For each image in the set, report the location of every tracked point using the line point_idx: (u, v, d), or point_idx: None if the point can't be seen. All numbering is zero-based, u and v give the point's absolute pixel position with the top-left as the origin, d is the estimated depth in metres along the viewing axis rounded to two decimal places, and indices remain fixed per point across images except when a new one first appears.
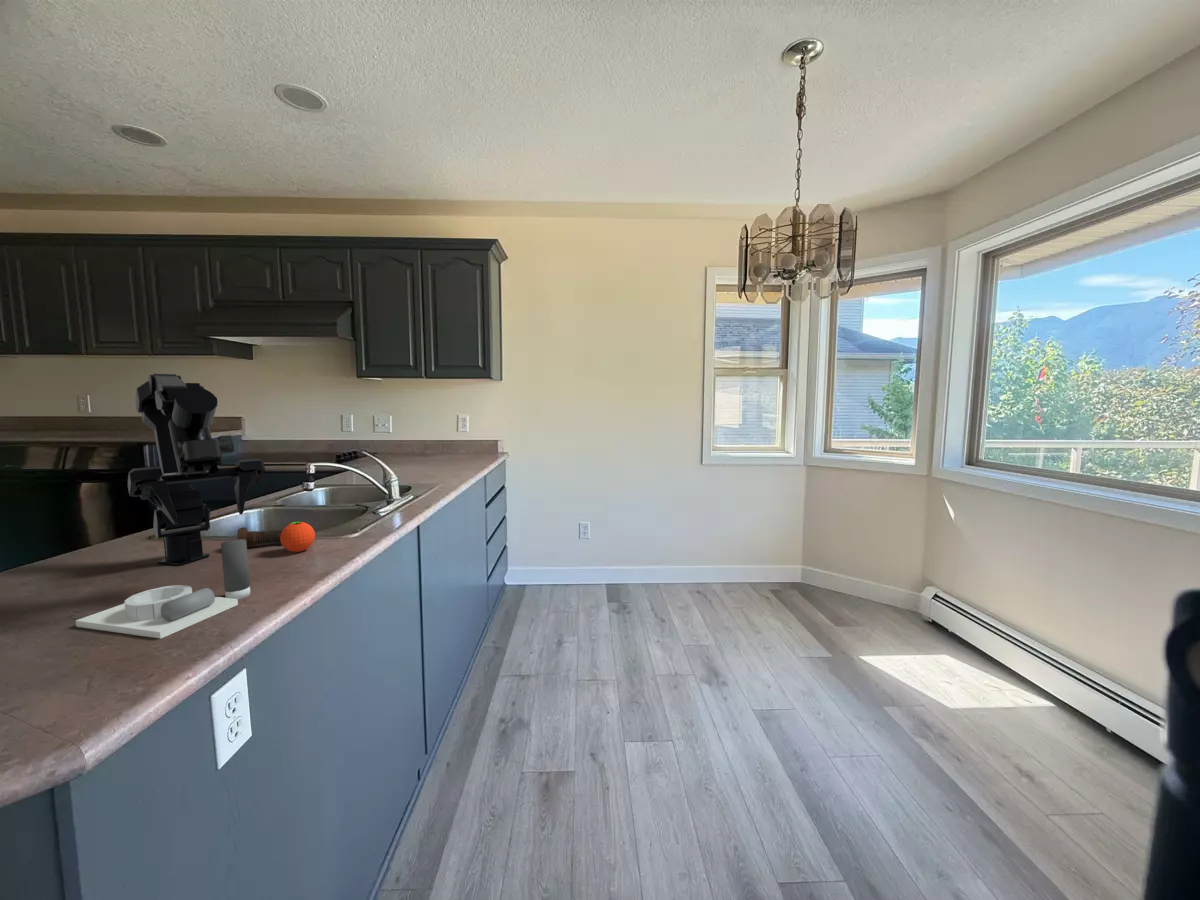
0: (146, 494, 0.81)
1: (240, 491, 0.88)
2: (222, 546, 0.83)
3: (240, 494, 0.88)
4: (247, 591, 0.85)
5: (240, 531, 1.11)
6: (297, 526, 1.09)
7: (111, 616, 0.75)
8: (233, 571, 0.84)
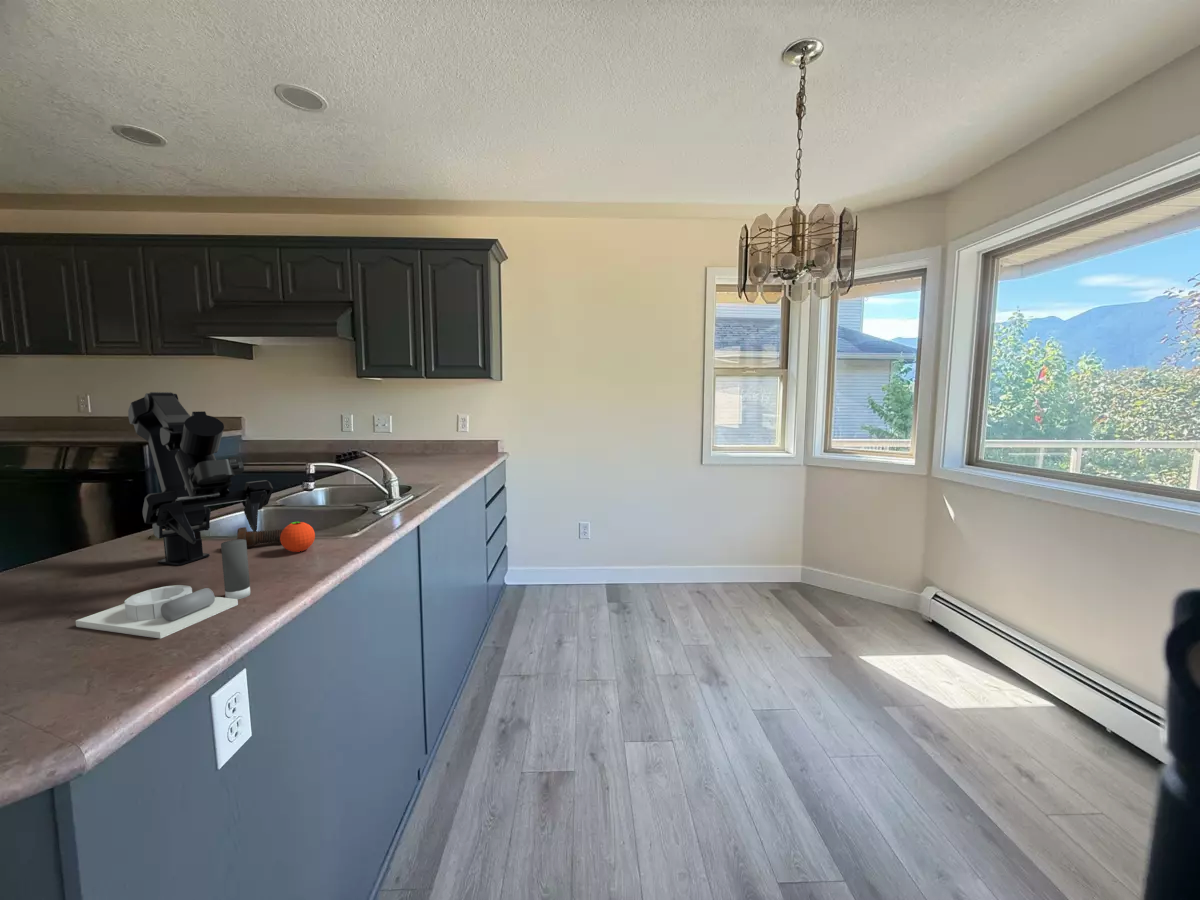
0: (162, 519, 0.83)
1: (252, 510, 0.91)
2: (222, 546, 0.83)
3: (252, 512, 0.91)
4: (247, 591, 0.85)
5: (240, 531, 1.11)
6: (297, 526, 1.09)
7: (111, 616, 0.75)
8: (233, 571, 0.84)
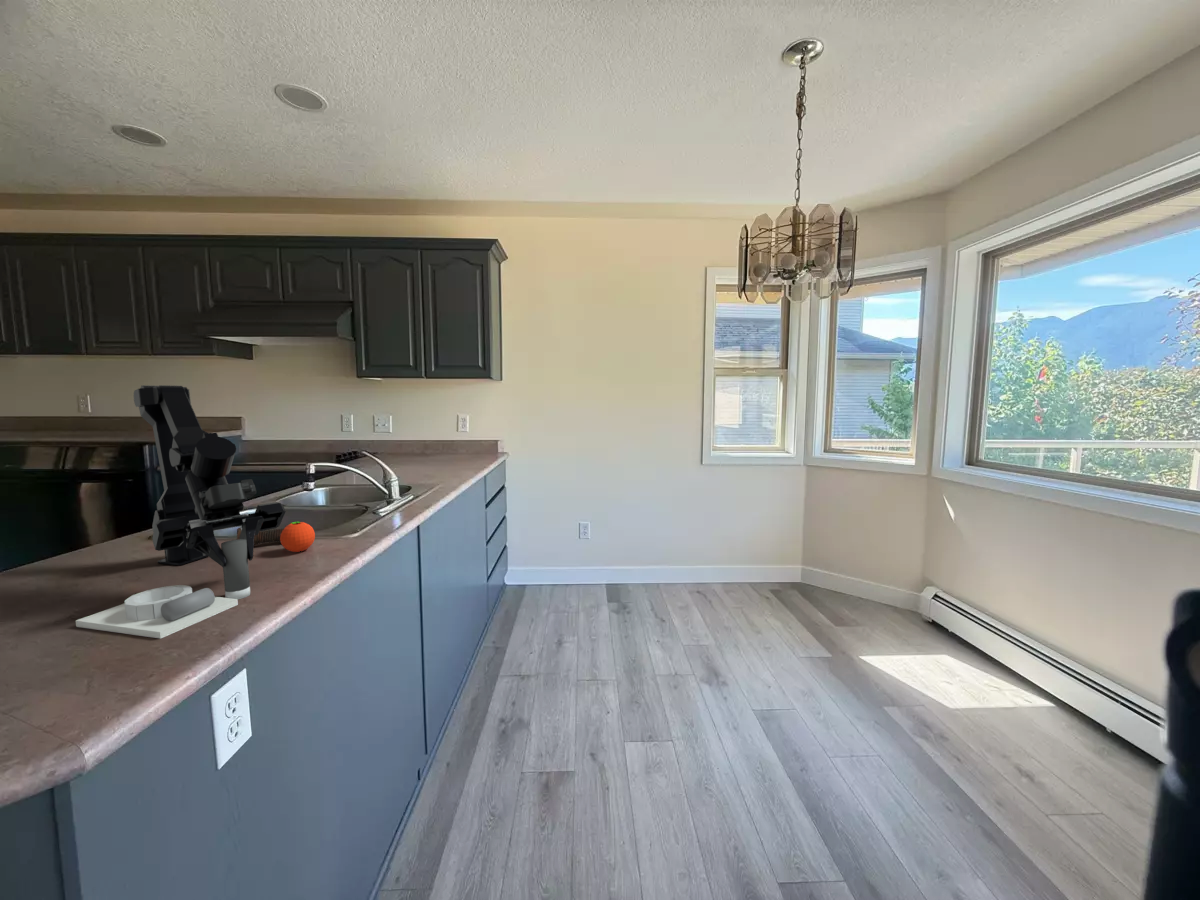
0: (192, 542, 0.83)
1: (247, 537, 0.87)
2: (222, 546, 0.83)
3: (248, 540, 0.87)
4: (247, 591, 0.85)
5: (239, 531, 1.11)
6: (297, 526, 1.09)
7: (111, 616, 0.75)
8: (233, 571, 0.84)
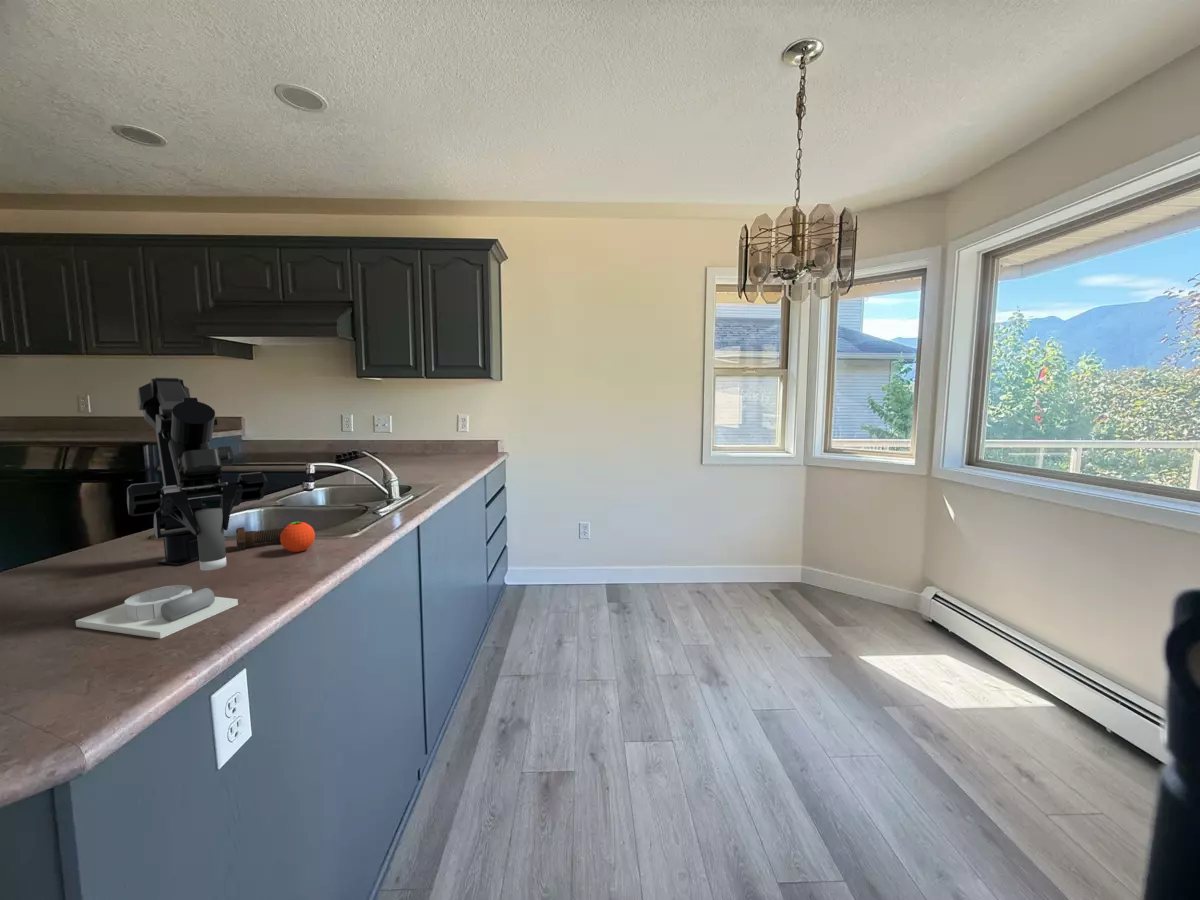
0: (167, 508, 0.80)
1: (224, 506, 0.83)
2: (196, 514, 0.80)
3: (224, 509, 0.83)
4: (221, 562, 0.82)
5: (239, 531, 1.11)
6: (297, 526, 1.09)
7: (111, 616, 0.75)
8: (206, 540, 0.80)
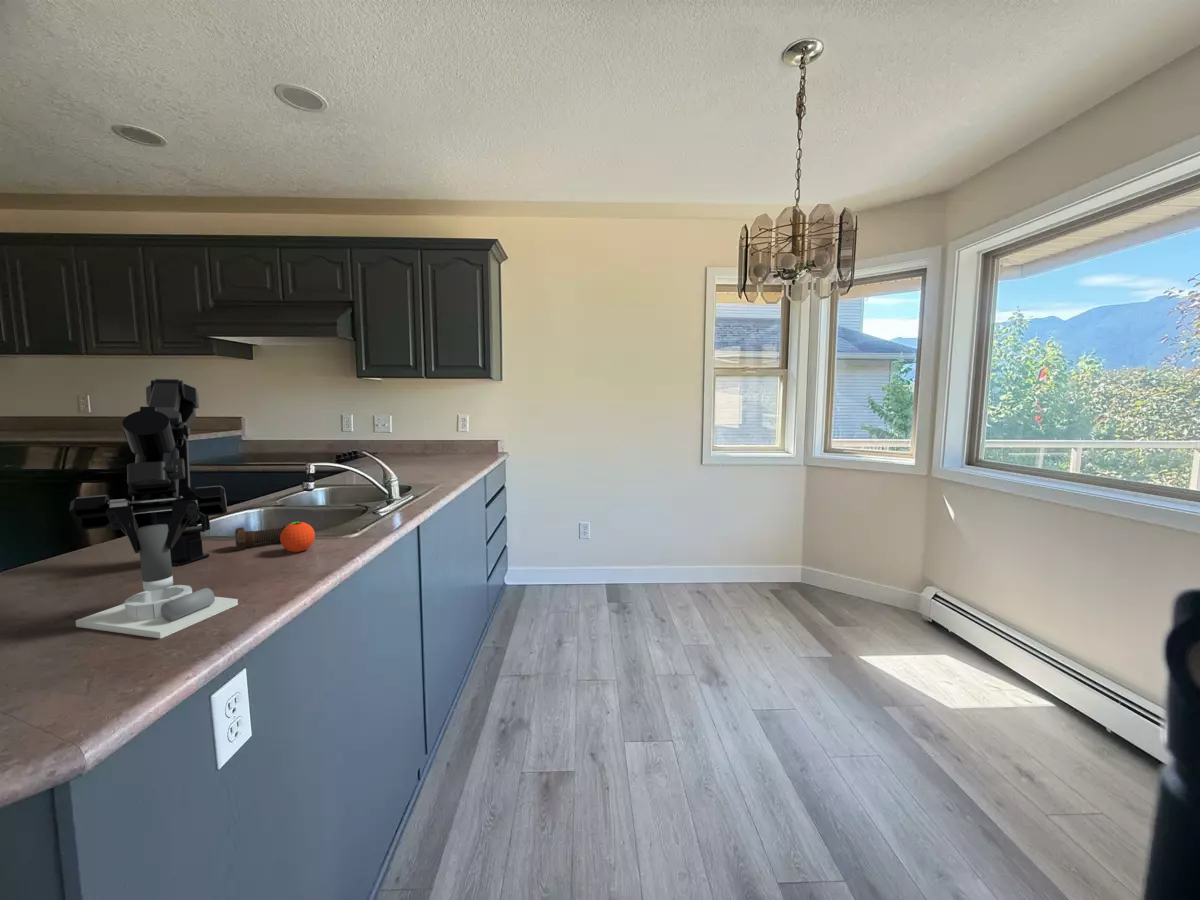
0: (115, 523, 0.77)
1: (172, 522, 0.78)
2: (137, 530, 0.75)
3: (171, 525, 0.78)
4: (164, 582, 0.77)
5: (239, 531, 1.11)
6: (297, 526, 1.09)
7: (111, 616, 0.75)
8: (146, 559, 0.75)
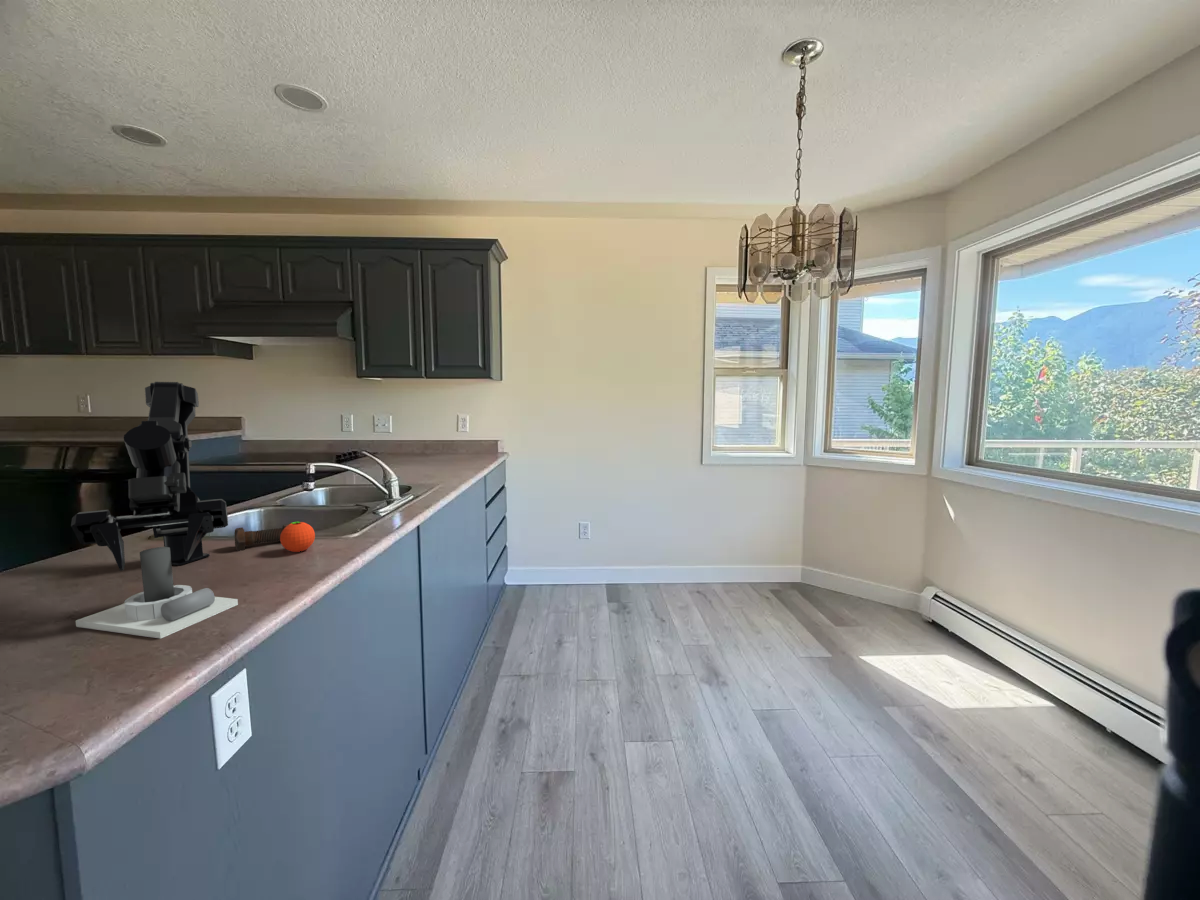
0: (100, 539, 0.76)
1: (188, 535, 0.80)
2: (140, 554, 0.76)
3: (187, 538, 0.79)
4: None
5: (239, 531, 1.11)
6: (297, 526, 1.09)
7: (111, 616, 0.75)
8: (149, 583, 0.76)
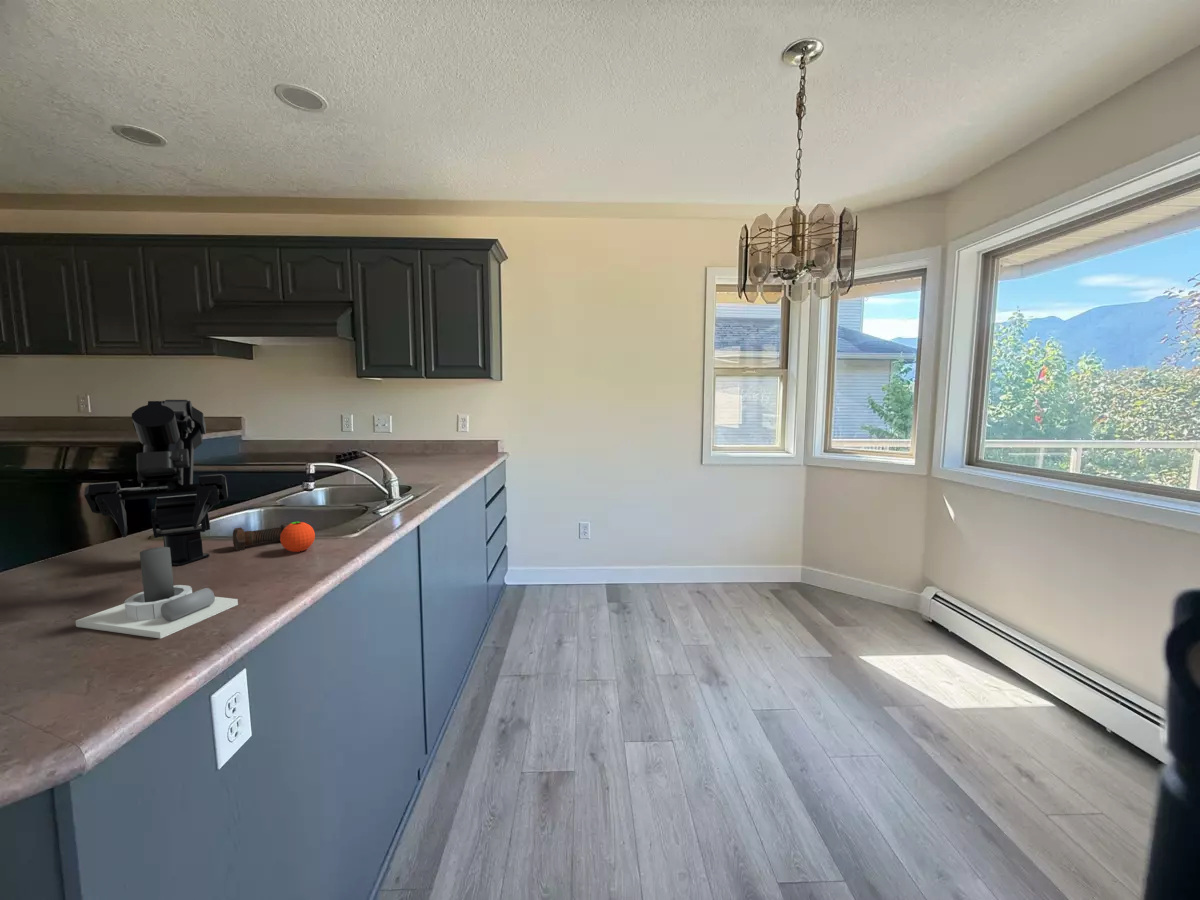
0: (104, 509, 0.82)
1: (196, 505, 0.87)
2: (140, 554, 0.76)
3: (196, 508, 0.87)
4: None
5: (238, 531, 1.11)
6: (297, 526, 1.09)
7: (111, 616, 0.75)
8: (149, 583, 0.76)
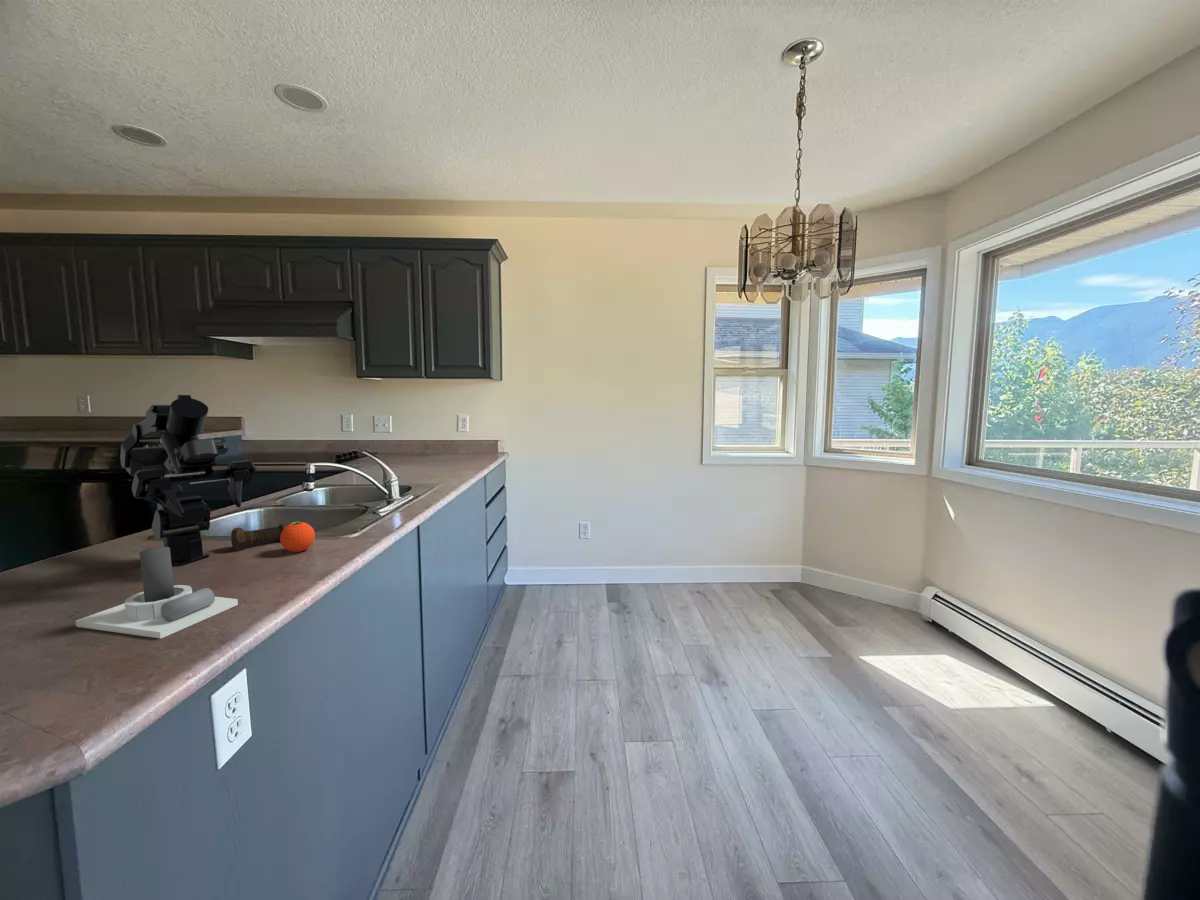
0: (151, 494, 0.89)
1: (236, 487, 0.98)
2: None
3: (236, 489, 0.98)
4: None
5: (238, 531, 1.11)
6: (297, 526, 1.09)
7: (111, 616, 0.75)
8: (149, 583, 0.76)
